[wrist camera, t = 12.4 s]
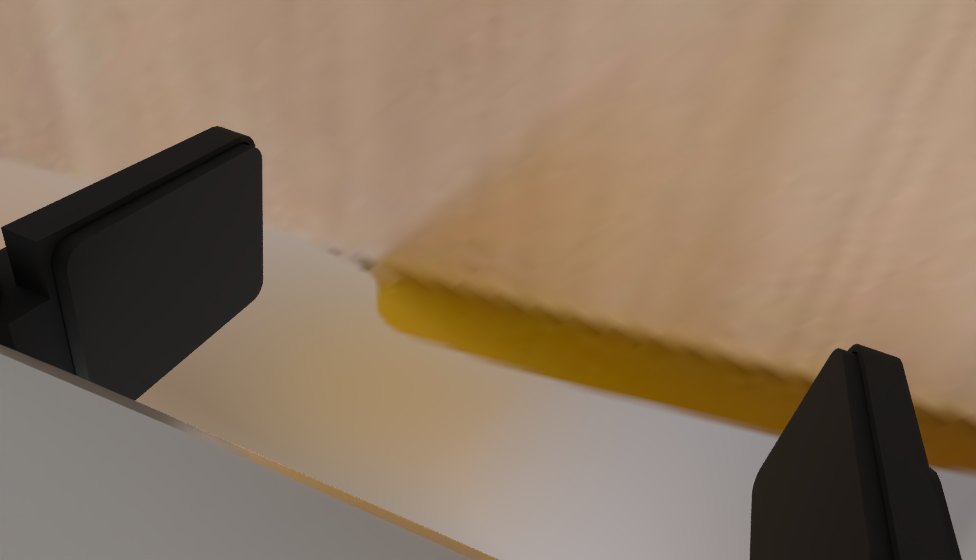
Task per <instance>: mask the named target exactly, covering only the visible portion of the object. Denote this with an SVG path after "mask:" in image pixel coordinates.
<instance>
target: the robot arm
mask: <svg viewBox="0 0 976 560" xmlns="http://www.w3.org/2000/svg"><path fill="white" fill-rule="evenodd" d="M1 229H2V233H3V237H4V240H5V245H6V247H5V248H3V249H1V250H0V560H498V559H496V558H494V557H492V556H489V555H487V554H485V553H482V552H480V551H478V550H476V549H474V548H471V547H469V546H467V545H464V544H462V543H460V542H458V541H456V540H453V539H451V538H449V537H447V536H444V535H442V534H440V533H438V532H435V531H433V530H431V529H429V528H426V527H424V526H422V525H419V524H417V523H415V522H413V521H410V520H408V519H406V518H403V517H401V516H399V515H397V514H394V513H392V512H390V511H387V510H385V509H383V508H380V507H378V506H376V505H374V504H371V503H369V502H367V501H364V500H362V499H360V498H358V497H355V496H353V495H351V494H348V493H346V492H344V491H342V490H339V489H337V488H335V487H333V486H330V485H328V484H326V483H323V482H321V481H319V480H316V479H314V478H312V477H310V476H307V475H305V474H303V473H301V472H298V471H296V470H294V469H291V468H289V467H287V466H284V465H282V464H280V463H278V462H275V461H273V460H271V459H268V458H266V457H264V456H261V455H259V454H257V453H254V452H252V451H250V450H248V449H245V448H243V447H241V446H239V445H236V444H234V443H232V442H229V441H227V440H225V439H222V438H220V437H218V436H216V435H213V434H211V433H209V432H206V431H204V430H202V429H199V428H197V427H195V426H192V425H190V424H188V423H185V422H183V421H181V420H178V419H176V418H174V417H171V416H169V415H167V414H164V413H162V412H160V411H157V410H155V409H152V408H150V407H148V406H146V405H143V404H141V403H139V402H136V401H135V400H136V399H137V398H139V397H140V396H141V395H142V394H143V393H144V392H146V391H147V390H148V389H149V388H150V387H152V386H153V385H154V384H155V383H156V382H158V381H159V380H160V379H161V378H162V377H164V376H165V375H166V374H167V373H168V372H169V371H171V370H172V369H173V368H174V367H175V366H177V365H178V364H179V363H180V362H181V361H182V360H183V359H185V358H186V357H187V356H188V355H189V354H190V353H192V352H193V351H194V350H195V349H197V348H198V347H199V346H200V345H201V344H203V343H204V342H205V341H206V340H207V339H208V338H210V337H211V336H212V335H213V334H214V333H216V332H217V331H218V330H219V329H220V328H221V327H223V326H224V325H225V324H226V323H227V322H229V321H230V320H231V319H232V318H233V317H234V316H236V315H237V314H238V313H239V312H240V311H241V310H243V309H244V308H245V307H246V306H247V305H248V304H250V303H251V302H252V301H253V300H254V299H255V298H256V297H257V295H258V294H259V292H260V290H261V287H262V284H263V213H262V155H261V152H260V151H259V150H258V149H257V148H255V144H254V142H253V140H252V139H251V138H250V137H249V136H246V135H243V134H240V133H237V132H234V131H231V130H228V129H225V128H223V127H219V126H216V127H212V128H210V129H208V130H205V131H203V132H201V133H199V134H197V135H195V136H193V137H191V138H189V139H187V140H184V141H182V142H180V143H178V144H176V145H174V146H172V147H170V148H168V149H165V150H163V151H161V152H159V153H157V154H155V155H153V156H151V157H149V158H146V159H144V160H142V161H140V162H138V163H136V164H134V165H132V166H130V167H127V168H125V169H123V170H121V171H119V172H117V173H115V174H113V175H111V176H109V177H106V178H104V179H102V180H100V181H98V182H96V183H94V184H92V185H90V186H87V187H85V188H83V189H81V190H79V191H77V192H75V193H73V194H71V195H68V196H67V197H64V198H62V199H60V200H58V201H56V202H54V203H52V204H49V205H47V206H46V207H43V208H41V209H39V210H37V211H35V212H33V213H31V214H28V215H27V216H24V217H22V218H20V219H18V220H16V221H14V222H12V223H10V224H8V225H5V226H3V227H1ZM750 541H751V542H750V560H962V559H961V555H960V551H959V548H958V544H957V540H956V537H955V533H954V529H953V526H952V522H951V518H950V514H949V511H948V507H947V503H946V500H945V496H944V492H943V489H942V485H941V482H940V479H939V477H938V475H937V473H936V472H935V471H934V470H933V469H931V468H930V467H929V465H928V461H927V457H926V453H925V449H924V445H923V442H922V438H921V434H920V430H919V426H918V422H917V418H916V414H915V411H914V407H913V403H912V399H911V395H910V391H909V387H908V384H907V380H906V376H905V372H904V368H903V364H902V362H901V360H900V359H899V358H897V357H895V356H892V355H889V354H886V353H883V352H880V351H877V350H874V349H871V348H868V347H865V346H862V345H859V344H855V345H853V346H852V347H851V348H850V349H849V350H848V351H845V350H843V349H840V348H838V349H835V350H834V351H833V352H832V354H831V355H830V357H829V358H828V360H827V361H826V363H825V365H824V366H823V368H822V370H821V371H820V373H819V374H818V376H817V378H816V379H815V381H814V382H813V384H812V386H811V387H810V389H809V391H808V392H807V394H806V395H805V397H804V399H803V400H802V402H801V404H800V405H799V407H798V408H797V410H796V412H795V413H794V415H793V416H792V418H791V420H790V421H789V423H788V425H787V426H786V428H785V429H784V431H783V433H782V434H781V436H780V438H779V439H778V441H777V442H776V444H775V446H774V447H773V449H772V451H771V452H770V454H769V456H768V457H767V459H766V460H765V462H764V463H763V465H762V467H761V468H760V470H759V472H758V474H757V476H756V479H755V482H754V486H753V491H752V510H751V539H750Z"/></svg>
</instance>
